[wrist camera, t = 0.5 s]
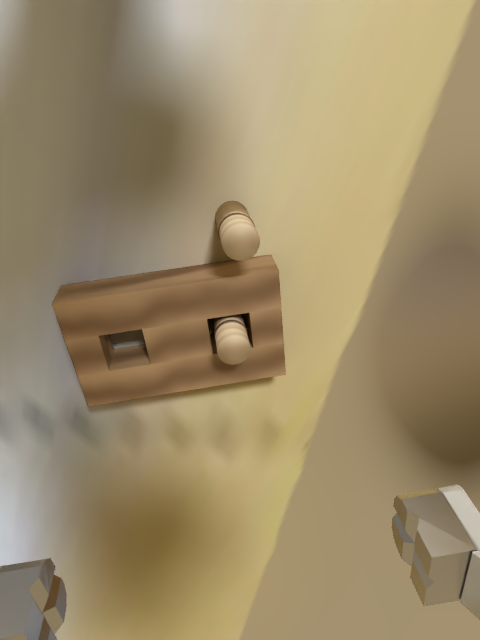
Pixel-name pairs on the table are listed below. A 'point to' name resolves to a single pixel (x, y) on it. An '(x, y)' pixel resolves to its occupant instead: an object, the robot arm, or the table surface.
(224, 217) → the leg
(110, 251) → the table surface
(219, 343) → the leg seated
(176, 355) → the board
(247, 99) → the table surface
